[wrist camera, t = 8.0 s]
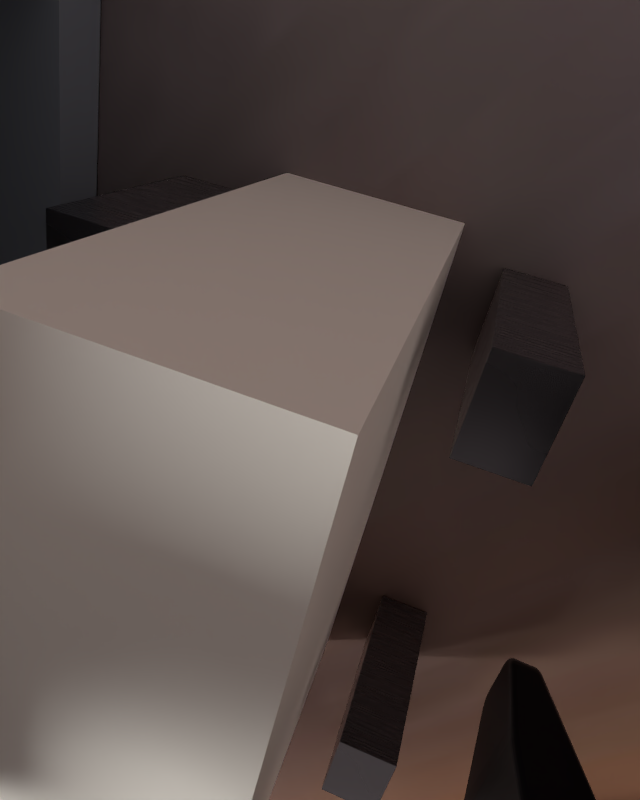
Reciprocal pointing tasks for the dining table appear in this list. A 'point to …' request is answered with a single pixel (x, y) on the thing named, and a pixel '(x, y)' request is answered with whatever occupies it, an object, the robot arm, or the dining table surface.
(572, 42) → the dining table surface
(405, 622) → the clip brackets
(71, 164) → the cabinet
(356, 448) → the white block
